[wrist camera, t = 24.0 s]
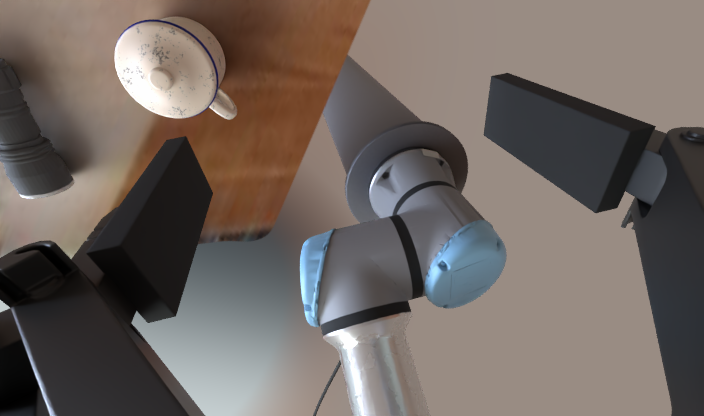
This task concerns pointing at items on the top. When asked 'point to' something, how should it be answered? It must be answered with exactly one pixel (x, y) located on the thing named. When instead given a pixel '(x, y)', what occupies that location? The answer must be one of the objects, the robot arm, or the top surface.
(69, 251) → the top surface
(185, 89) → the teacup with lid
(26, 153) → the flashlight
